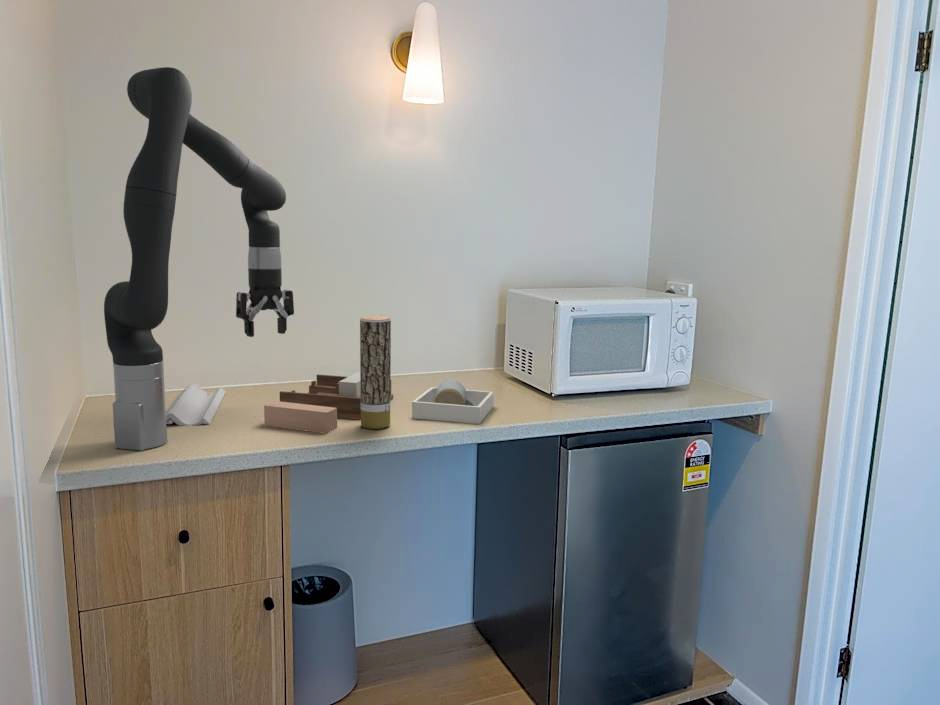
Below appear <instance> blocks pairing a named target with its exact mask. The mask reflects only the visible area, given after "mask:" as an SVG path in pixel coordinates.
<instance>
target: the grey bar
mask: <svg viewBox="0 0 940 705" xmlns="http://www.w3.org/2000/svg"><path fill="white" fill-rule="evenodd" d="M346 377H347V378H345V379H343V380H341V381H339V396H346V397H359V398H360V370H359V371H357V372H354V373H353V374H351V375H349V376H346Z"/></svg>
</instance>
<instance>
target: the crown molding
mask: <svg viewBox="0 0 940 705" xmlns="http://www.w3.org/2000/svg"><path fill="white" fill-rule="evenodd" d="M210 393H211V392H210ZM226 393H227V391H226V390H225V389H224V388H223V387H221V386H220V387H218V388H217V389H215V390H214V391H212V393H211V394H210V395H209V396H207V391H205V390H203V388H201V387H200V386H199V385H198V384H197V383H195V382H191V383H189V384H188V386H186V388H185V387H184V389H183V390H182V391H181V392H180V393H179V394H180V395H179V394H178V395H179V396H178V395H177V397H175V399H176V400H175V399H174V400H173V402H172V403H171V404H172V405H169V407H168V408H167V410H166V425H172V424H174V423H175V424H176V425H177V426H179V425H180V426H179V427H182V425H191V426H200V425H202V424H203V425H204V424H205V425H210V424H211V422H212V420H213V418H214V416H215V414H216V412H217V410H218V408H219V406H220V404H221V402H222V401H223V398H224V397H225V395H226Z"/></svg>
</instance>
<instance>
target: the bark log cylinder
mask: <svg viewBox="0 0 940 705" xmlns="http://www.w3.org/2000/svg"><path fill="white" fill-rule="evenodd" d="M391 325H392V321H391V317H390V316H385V315H384V316H383V315H371V316H370V315H368V316H367V315H365V316H361V317H360V319H359V340H360V341H359V345H360V346H359V347H360V348H359V350H360V351H359V354H360V355H359V357H360V358H359V364H360V366H359V367H360V368H359V369H360V370H359V371H360V401H361V402H360V406H361V419H360V425H361V426H362V428H365V429H370V430H381V429H386V428H388V427H389V426H390V424H391V394H392V379H391V375H392V374H391V372H392V371H391V369H392V368H391V363H392V357H391V354H392V350H391V348H392V347H391V346H392V344H391V343H392V336H391V335H392V334H391V333H392V332H391V330H392V326H391Z"/></svg>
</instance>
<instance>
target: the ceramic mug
mask: <svg viewBox="0 0 940 705" xmlns="http://www.w3.org/2000/svg"><path fill="white" fill-rule="evenodd" d="M466 390H467V389H466V388H465V385H464V384H462V383H461V382H460V381H458V380H456V379H445V380H444V381H441V383H440V384H439V385H438V387H437V391H436V396H435V403H443V404H455V405H467V406H476V405H475V404H474V403H472V402H471V401H469V400H468V399H466V397H467V394H466Z"/></svg>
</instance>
